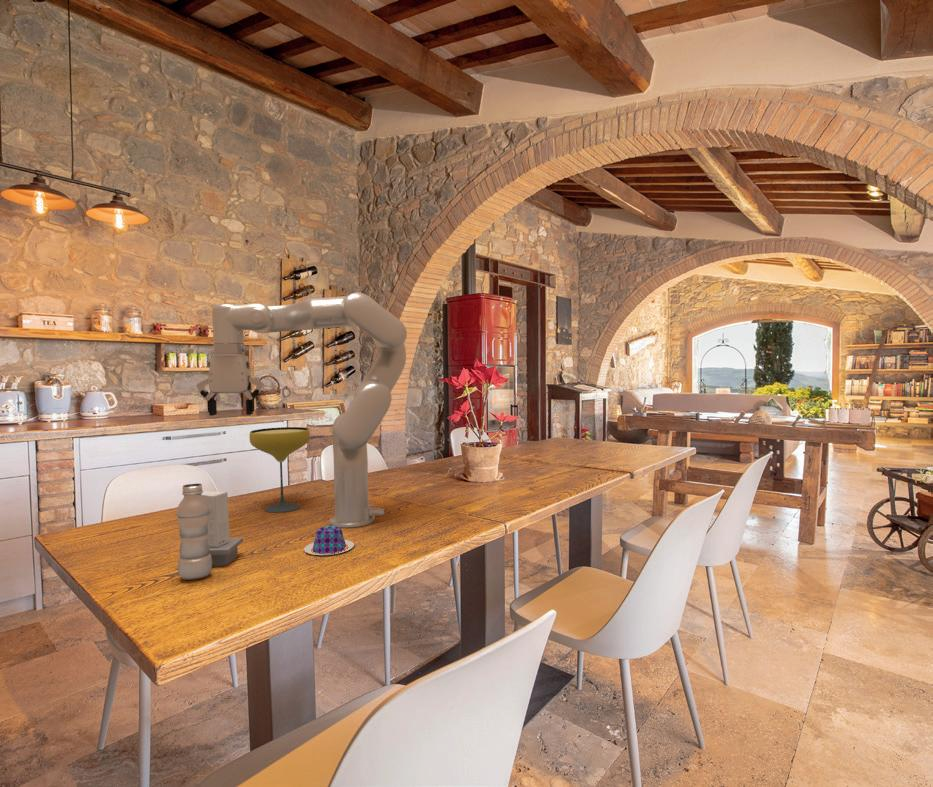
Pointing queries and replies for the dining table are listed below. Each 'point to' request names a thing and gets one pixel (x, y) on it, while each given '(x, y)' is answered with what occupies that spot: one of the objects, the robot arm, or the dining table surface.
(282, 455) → the cocktail glass
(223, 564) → the stand
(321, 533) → the pudding
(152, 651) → the dining table surface
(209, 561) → the plastic bottle
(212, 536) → the skincare box
